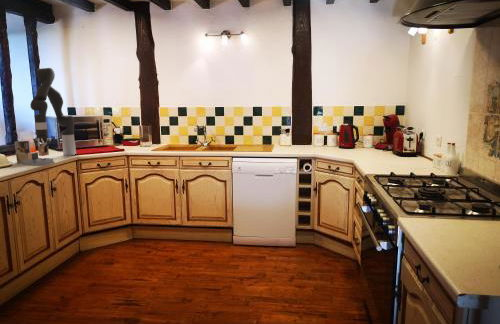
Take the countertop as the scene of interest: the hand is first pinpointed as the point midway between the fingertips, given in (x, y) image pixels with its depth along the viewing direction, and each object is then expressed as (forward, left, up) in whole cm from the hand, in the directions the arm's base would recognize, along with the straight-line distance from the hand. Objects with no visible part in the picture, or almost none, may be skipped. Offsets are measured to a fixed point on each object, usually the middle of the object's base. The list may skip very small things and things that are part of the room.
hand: (43, 152), depth 269 cm
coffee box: (-2, -19, -9) cm, 21 cm away
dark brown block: (0, 0, -2) cm, 2 cm away
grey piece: (0, -5, -9) cm, 10 cm away
